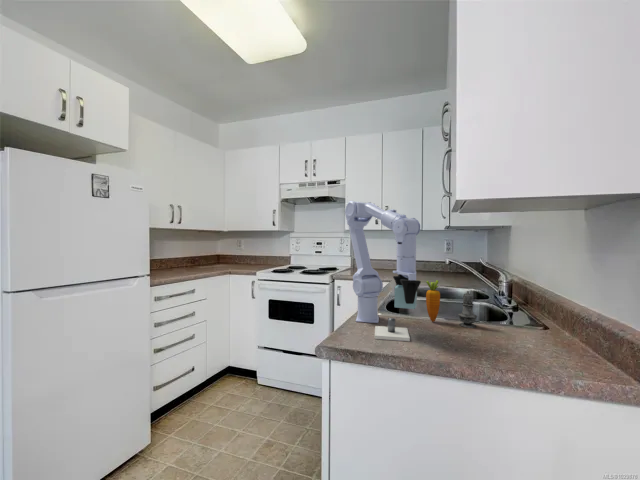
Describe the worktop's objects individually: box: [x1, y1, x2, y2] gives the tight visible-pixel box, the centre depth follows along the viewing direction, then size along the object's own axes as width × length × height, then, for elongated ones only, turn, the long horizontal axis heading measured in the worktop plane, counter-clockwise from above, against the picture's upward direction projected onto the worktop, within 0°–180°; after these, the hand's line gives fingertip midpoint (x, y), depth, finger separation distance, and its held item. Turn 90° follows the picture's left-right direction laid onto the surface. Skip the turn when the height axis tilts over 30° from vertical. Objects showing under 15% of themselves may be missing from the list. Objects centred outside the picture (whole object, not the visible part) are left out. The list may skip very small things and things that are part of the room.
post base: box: [374, 317, 411, 342], centre depth 93 cm, size 10×10×5 cm
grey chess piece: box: [458, 290, 478, 329], centre depth 104 cm, size 6×6×12 cm
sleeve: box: [393, 285, 418, 310], centre depth 94 cm, size 6×6×6 cm
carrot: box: [425, 279, 441, 323], centre depth 108 cm, size 5×5×15 cm
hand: (405, 300), depth 94 cm, fingers closed on sleeve, 7 cm apart
